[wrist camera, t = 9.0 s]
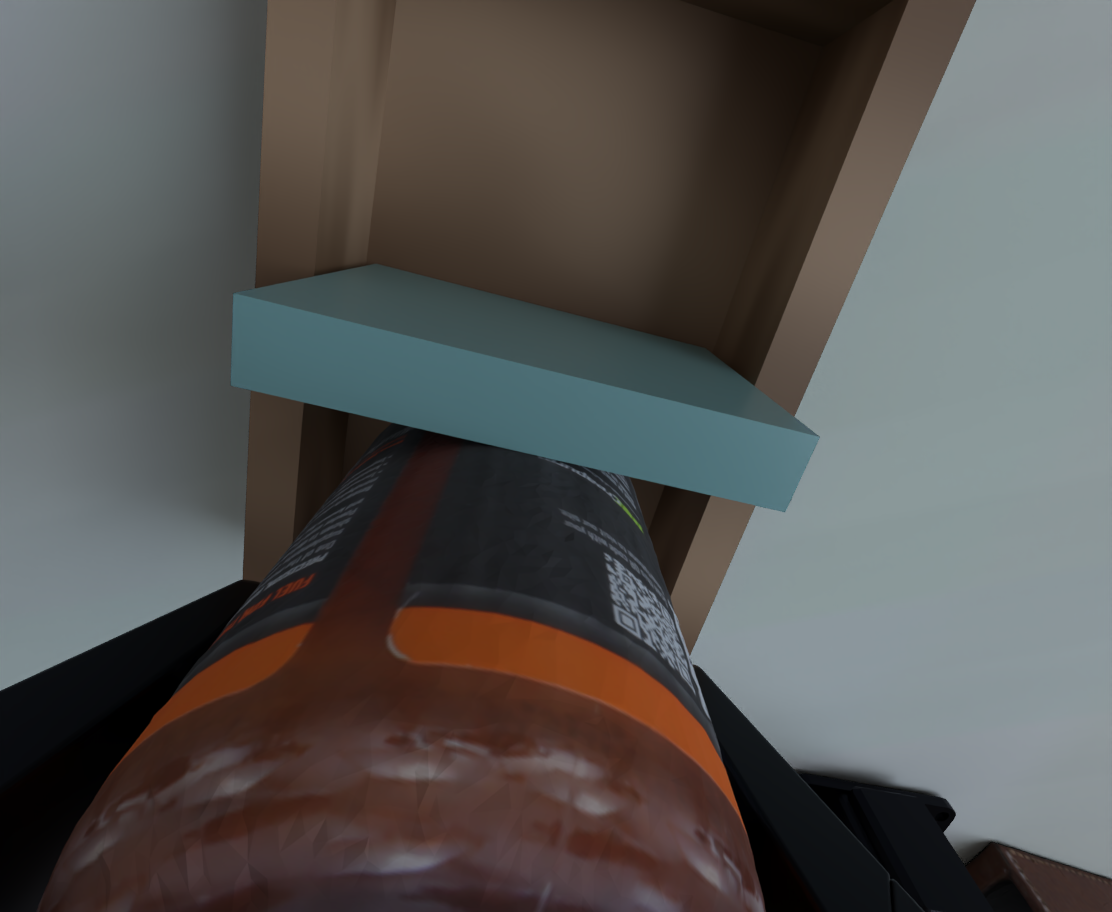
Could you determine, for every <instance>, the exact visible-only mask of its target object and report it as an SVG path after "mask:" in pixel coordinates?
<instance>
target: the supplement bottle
mask: <svg viewBox="0 0 1112 912" xmlns="http://www.w3.org/2000/svg"><path fill="white" fill-rule="evenodd" d="M36 912H766V911H765V904H764V898H763V894H762V890H761V886H760V883H759V879H758V875H757V872H756V869H755V863H754V858H753V854H752V850H751V846H750V843H749V839H748V835H747V832H746V829H745V826H744V823H743V820H742V817H741V814H740V812H739V809H738V806H737V803H736V800H735V797H734V794H733V791H732V788H731V784H730V781H729V778H728V775H727V772H726V769H725V767H724V764H723V761H722V757H721V752H720V747H719V744H718V740H717V737H716V734H715V731H714V728H713V725H712V722H711V719H710V716H709V714H708V711H707V708H706V705H705V702H704V699H703V696H702V693H701V689H700V686H699V683H698V681H697V678H696V675H695V672H694V668H693V665H692V662H691V659H690V656H689V652H688V650H687V647H686V644H685V641H684V638H683V636H682V633H681V629H680V625H679V622H678V618H677V616H676V614H675V613H674V608H673V605H672V602H671V598H670V595H669V592H668V590H667V587H666V584H665V581H664V578H663V576H662V574H661V571H660V568H659V564H658V560H657V556H656V553H655V551H654V548H653V544H652V541H651V539H650V536H649V533H648V530H647V527H646V525H645V522H644V518H643V515H642V512H641V509H640V506H639V503H638V500H637V497H636V493H635V490H634V487H633V485H632V482H631V480H630V478H629V477H628V476H624V475H620V474H615V473H611V472H607V471H602V470H598V469H593V468H589V467H585V466H580V465H576V464H572V463H567V462H563V461H558V460H554V459H550V458H545V457H541V456H537V455H532V454H528V453H523V452H519V451H515V450H510V449H506V448H502V447H497V446H493V445H488V444H484V443H480V442H475V441H471V440H466V439H462V438H458V437H453V436H449V435H445V434H440V433H436V432H431V431H427V430H423V429H418V428H414V427H410V426H405V425H401V424H396V423H392V422H391V424H390V425H389V426H388V427H387V428H386V429H385V430H384V431H383V432H381V433H380V434H379V435H378V436H377V438H376V439H375V440H374V441H373V443H372V444H371V445H370V447H369V448H368V449H367V450H366V452H365V453H364V454H363V455H362V456H361V457H360V459H359V460H358V461H357V463H356V464H355V466H354V467H352V468H351V469H350V471H349V472H348V474H347V475H346V476H345V477H344V479H343V480H342V482H341V483H340V484H339V485H338V487H337V488H336V489H335V490H334V491H333V493H332V494H331V495H330V496H329V497H328V498H327V500H326V501H325V503H324V504H323V505H322V507H321V508H320V509H319V510H318V512H317V513H316V514H315V515H314V517H313V518H312V519H311V520H310V521H309V523H308V524H307V525H306V527H305V528H304V529H303V530H302V532H301V533H300V534H299V535H298V537H297V538H296V539H295V540H294V542H293V543H292V544H291V545H290V547H289V548H288V550H287V551H286V552H285V553H284V554H283V555H282V557H281V558H280V559H279V560H278V562H277V563H276V564H275V566H274V567H273V568H272V569H271V571H270V572H269V573H268V574H267V576H266V577H265V578H264V579H263V581H262V582H261V583H260V584H259V586H258V587H257V588H256V590H255V591H254V592H253V593H252V594H251V596H250V597H249V598H248V599H247V601H246V602H245V603H244V604H243V605H242V607H241V608H240V609H239V610H238V612H237V613H236V614H235V615H234V617H233V618H232V619H231V620H230V621H229V623H228V624H227V625H226V627H225V628H224V629H223V631H222V632H221V633H220V635H219V636H218V637H217V639H216V640H215V642H214V643H213V644H212V646H211V647H210V648H209V649H208V650H207V651H206V652H205V653H204V654H203V655H202V656H201V657H200V658H199V659H198V660H197V662H196V663H195V664H194V666H193V667H192V668H191V670H190V671H189V672H188V673H187V675H186V676H185V677H184V679H183V680H182V682H181V683H180V685H179V686H178V688H177V689H176V691H175V692H174V694H173V695H172V697H171V698H170V700H169V701H168V702H167V703H166V704H165V705H164V706H163V707H162V708H161V709H160V710H159V711H158V712H157V713H156V714H155V715H154V716H153V718H152V720H151V722H150V724H149V725H148V726H147V727H146V729H145V730H144V731H143V732H142V734H141V735H140V736H139V738H138V739H137V740H136V741H135V743H134V744H133V745H132V747H131V748H130V749H129V750H128V752H127V753H126V754H125V755H124V757H123V758H122V759H121V761H120V762H119V763H118V764H117V766H116V767H115V768H114V769H113V771H112V772H111V773H110V775H109V776H108V778H107V779H106V781H105V782H104V784H103V785H102V787H101V788H100V790H99V792H98V793H97V795H96V796H95V798H94V800H93V801H92V803H91V804H90V806H89V807H88V808H87V810H86V811H85V813H84V814H83V815H82V817H81V818H80V820H79V821H78V823H77V824H76V826H75V828H74V830H73V831H72V833H71V835H70V837H69V839H68V841H67V843H66V844H65V846H64V848H63V850H62V852H61V855H60V857H59V859H58V861H57V863H56V865H55V867H54V870H53V872H52V875H51V877H50V880H49V882H48V884H47V886H46V888H45V891H44V893H43V896H42V898H41V901H40V903H39V906H38V909H37V911H36Z"/></svg>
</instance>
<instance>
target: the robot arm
mask: <svg viewBox="0 0 1112 912" xmlns="http://www.w3.org/2000/svg"><path fill="white" fill-rule="evenodd" d="M260 583H261V582H258V581H252V580H245V579H243V580H239V581H237V582H235V583H232V584H230V585H228V586H226V587H224V588H222V589H219V590H217V591H215V592H213V593H211V594H209V595H206V596H204V597H202V598H200V599H198V600H196V601H193V602H191V603H189V604H187V605H185V606H183V607H180V608H178V609H176V610H174V611H172V612H170V613H168V614H165V615H163V616H161V617H159V618H157V619H155V620H152V621H150V622H148V623H146V624H144V625H142V626H139V627H137V628H135V629H133V630H131V631H129V632H126V633H124V634H122V635H120V636H118V637H116V638H113V639H111V640H109V641H107V642H105V643H103V644H101V645H98V646H96V647H94V648H92V649H90V650H88V651H85V652H83V653H81V654H79V655H77V656H75V657H72V658H70V659H68V660H66V661H64V662H62V663H59V664H57V665H55V666H53V667H51V668H49V669H46V670H44V671H42V672H40V673H38V674H36V675H34V676H31V677H29V678H27V679H25V680H23V681H21V682H18V683H16V684H14V685H12V686H10V687H8V688H5V689H3V690H1V691H0V912H36V911H37V909H38V906H39V903H40V901H41V898H42V896H43V893H44V891H45V888H46V886H47V884H48V882H49V880H50V877H51V875H52V872H53V870H54V867H55V865H56V863H57V861H58V859H59V857H60V855H61V852H62V850H63V848H64V846H65V844H66V843H67V841H68V839H69V837H70V835H71V833H72V831H73V830H74V828H75V826H76V824H77V823H78V821H79V820H80V818H81V817H82V815H83V814H84V813H85V811H86V810H87V808H88V807H89V806H90V804H91V803H92V801H93V800H94V798H95V796H96V795H97V793H98V792H99V790H100V788H101V787H102V785H103V784H104V782H105V781H106V779H107V778H108V776H109V775H110V773H111V772H112V771H113V769H114V768H115V767H116V766H117V764H118V763H119V762H120V761H121V759H122V758H123V757H124V755H125V754H126V753H127V752H128V750H129V749H130V748H131V747H132V745H133V744H134V743H135V741H136V740H137V739H138V738H139V736H140V735H141V734H142V732H143V731H144V730H145V729H146V727H147V726H148V725H149V724H150V722H151V720H152V718H153V716H154V715H155V714H156V713H157V712H158V711H159V710H160V709H161V708H162V707H163V706H164V705H165V704H166V703H167V702H168V701H169V700H170V698H171V697H172V695H173V694H174V692H175V691H176V689H177V688H178V686H179V685H180V683H181V682H182V680H183V679H184V677H185V676H186V675H187V673H188V672H189V671H190V670H191V668H192V667H193V666H194V664H195V663H196V662H197V660H198V659H199V658H200V657H201V656H202V655H203V654H204V653H205V652H206V651H207V650H208V649H209V648H210V647H211V646H212V644H213V643H214V642H215V640H216V639H217V637H218V636H219V635H220V633H221V632H222V631H223V629H224V628H225V627H226V625H227V624H228V623H229V621H230V620H231V619H232V618H233V617H234V615H235V614H236V613H237V612H238V610H239V609H240V608H241V607H242V605H243V604H244V603H245V602H246V601H247V599H248V598H249V597H250V596H251V594H252V593H253V592H254V591H255V590H256V588H257V587H258V586H259V584H260ZM692 665H693V664H692ZM693 668H694V672H695V675H696V678H697V681H698V683H699V686H700V689H701V693H702V696H703V699H704V702H705V705H706V708H707V711H708V714H709V716H710V719H711V722H712V725H713V728H714V731H715V734H716V737H717V740H718V744H719V747H720V752H721V757H722V761H723V764H724V767H725V769H726V772H727V775H728V778H729V781H730V784H731V788H732V791H733V794H734V797H735V800H736V803H737V806H738V809H739V812H740V814H741V817H742V820H743V823H744V826H745V829H746V832H747V835H748V839H749V843H750V846H751V850H752V854H753V858H754V863H755V869H756V872H757V875H758V879H759V883H760V886H761V890H762V894H763V898H764V904H765V911H766V912H994V910H993V909H992V907H991V906H990V904H989V903H988V901H987V900H986V898H985V896H984V895H983V893H982V892H981V890H980V889H979V887H978V886H977V884H976V883H975V881H974V879H973V878H972V876H971V875H970V873H969V872H968V870H967V869H966V867H965V866H964V864H963V863H962V861H961V859H960V858H959V856H958V855H957V853H956V852H955V850H954V849H953V847H952V846H951V844H950V843H949V841H948V839H947V838H946V836H945V835H944V833H943V832H944V831H945V830H946V829H947V827H948V826H949V825H950V823H951V822H952V821H953V820H954V818H955V816H956V814H955V811H954V809H953V808H952V807H951V805H950V804H949V802H948V801H947V800H946V799H944V798H941V797H935V796H929V795H924V794H918V793H912V792H907V791H901V790H896V789H890V788H884V787H879V786H873V785H867V784H862V783H856V782H850V781H845V780H839V779H833V778H828V777H822V776H816V775H811V774H797V772H796V771H795V770H794V769H793V768H792V767H791V766H790V765H789V764H788V763H787V762H786V761H785V759H784V758H783V757H782V756H781V755H780V754H779V753H778V752H777V751H776V750H775V749H774V747H773V746H772V745H771V744H770V743H769V742H768V741H767V740H766V739H765V738H764V737H763V735H762V734H761V733H760V732H759V731H758V730H757V729H756V728H755V727H754V726H753V725H752V723H751V722H750V721H749V720H748V719H747V718H746V717H745V716H744V715H743V714H742V713H741V711H740V710H739V709H738V708H737V707H736V706H735V705H734V704H733V703H732V702H731V701H730V699H729V698H728V697H727V696H726V695H725V694H724V693H723V692H722V691H721V690H720V689H719V687H718V686H717V685H716V684H715V683H714V682H713V681H712V680H711V679H710V678H709V677H708V675H707V674H706V673H705V672H704V671H703V670H702V669H701V668H700V667H698V666H696V665H693Z"/></svg>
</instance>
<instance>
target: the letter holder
mask: <svg viewBox="0 0 1112 912" xmlns="http://www.w3.org/2000/svg"><path fill="white" fill-rule="evenodd" d="M965 867H966V869H967V870H968V872H969V873H970V875H971V876H972V878H973V879H974V881H975V883H976V884H977V886H978V887H979V889H980V890H981V892H982V893H983V895H984V896H985V898H986V900H987V901H988V903H989V904H990V906H991V907H992V909H993V910H994V912H1112V880H1111V879H1107V878H1105V877H1099V876H1097V875H1093V874H1091V873H1088V872H1085V871H1082V870H1078V869H1076V868H1073V867H1070V866H1067V865H1063V864H1060V863H1057V862H1054V861H1051V860H1046V859H1044V858H1041V857H1038V856H1035V855H1032V854H1029V853H1026V852H1023V851H1020V850H1017V849H1014V848H1010V847H1007V846H1003V845H1000V844H997V843H994V842H992V843H990V844H989V845H988V846H987V847H986V848H985V849H984V850H983V851H982V852H981V853H980V854H979V855H978V856H976V857H975V858H974V859H973V860H972V861H971V862H970V863H968V864H967V865H966V866H965Z"/></svg>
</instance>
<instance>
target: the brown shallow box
mask: <svg viewBox="0 0 1112 912" xmlns="http://www.w3.org/2000/svg"><path fill="white" fill-rule="evenodd" d="M975 2H976V0H268V5H267V28H266V52H265V75H264V98H263V121H262V144H261V167H260V190H259V213H258V236H257V259H256V283H255V288H260V287H265V286H270V285H275V284H280V283H284V282H289V281H294V280H299V279H304V278H309V277H314V276H318V275H323V274H328V273H333V272H338V271H343V270H347V269H352V268H357V267H362V266H367V265H372V264H380V265H384V266H387V267H391V268H395V269H399V270H403V271H407V272H411V273H415V274H419V275H422V276H426V277H430V278H434V279H438V280H442V281H446V282H450V283H454V284H457V285H461V286H465V287H469V288H473V289H477V290H481V291H485V292H489V293H492V294H496V295H500V296H504V297H508V298H512V299H516V300H520V301H524V302H527V303H531V304H535V305H539V306H543V307H547V308H551V309H555V310H559V311H562V312H566V313H570V314H574V315H578V316H582V317H586V318H590V319H594V320H597V321H601V322H605V323H609V324H613V325H617V326H621V327H625V328H629V329H632V330H636V331H640V332H644V333H648V334H652V335H656V336H660V337H664V338H667V339H671V340H675V341H679V342H683V343H687V344H691V345H695V346H699V347H702V348H706V349H707V350H709V351H710V352H711V353H712V354H714V355H715V356H716V357H718V358H719V359H720V360H721V361H723V362H724V363H725V364H727V365H728V366H729V367H730V368H732V369H733V370H734V371H736V372H737V373H738V374H739V375H741V376H742V377H743V378H745V379H746V380H747V381H748V382H750V383H751V384H752V385H754V386H755V387H756V388H757V389H759V390H760V391H761V392H763V393H764V394H765V395H767V396H768V397H769V398H770V399H772V400H773V401H774V402H776V403H777V404H778V405H779V406H781V407H782V408H783V409H785V410H786V411H787V412H788V413H790V414H791V415H792V416H795V414H796V412H797V409H798V407H799V405H800V402H801V400H802V398H803V396H804V393H805V391H806V389H807V386H808V384H809V382H810V380H811V377H812V375H813V373H814V370H815V368H816V366H817V364H818V361H819V359H820V357H821V354H822V352H823V350H824V348H825V345H826V343H827V341H828V338H829V336H830V334H831V332H832V329H833V327H834V325H835V322H836V320H837V318H838V316H839V313H840V311H841V309H842V306H843V304H844V302H845V299H846V297H847V295H848V293H849V290H850V288H851V286H852V283H853V281H854V279H855V277H856V274H857V272H858V270H859V267H860V265H861V263H862V261H863V258H864V256H865V254H866V251H867V249H868V247H869V245H870V242H871V240H872V238H873V235H874V233H875V231H876V229H877V226H878V224H879V222H880V219H881V217H882V215H883V213H884V210H885V208H886V206H887V203H888V201H889V199H890V197H891V194H892V192H893V190H894V187H895V185H896V183H897V181H898V178H899V176H900V174H901V171H902V169H903V167H904V164H905V162H906V160H907V158H908V155H909V153H910V151H911V148H912V146H913V144H914V142H915V139H916V137H917V135H918V132H919V130H920V128H921V126H922V123H923V121H924V119H925V116H926V114H927V112H928V110H929V107H930V105H931V103H932V100H933V98H934V96H935V94H936V91H937V89H938V87H939V84H940V82H941V80H942V78H943V75H944V73H945V71H946V68H947V66H948V64H949V62H950V59H951V57H952V55H953V52H954V50H955V48H956V46H957V43H958V41H959V39H960V36H961V34H962V32H963V29H964V27H965V25H966V23H967V20H968V18H969V16H970V13H971V11H972V9H973V7H974V4H975ZM390 424H391V422H388V421H383V420H379V419H375V418H370V417H366V416H361V415H357V414H353V413H348V412H344V411H340V410H335V409H331V408H326V407H322V406H318V405H313V404H309V403H304V402H300V401H296V400H291V399H287V398H283V397H278V396H274V395H269V394H265V393H261V392H256V391H252V390H251V398H250V421H249V444H248V467H247V491H246V514H245V537H244V560H243V579H245V580H252V581H258V582H262V581H263V579H264V578H265V577H266V576H267V574H268V573H269V572H270V571H271V569H272V568H273V567H274V566H275V564H276V563H277V562H278V560H279V559H280V558H281V557H282V555H283V554H284V553H285V552H286V551H287V550H288V548H289V547H290V545H291V544H292V543H293V542H294V540H295V539H296V538H297V537H298V535H299V534H300V533H301V532H302V530H303V529H304V528H305V527H306V525H307V524H308V523H309V521H310V520H311V519H312V518H313V517H314V515H315V514H316V513H317V512H318V510H319V509H320V508H321V507H322V505H323V504H324V503H325V501H326V500H327V498H328V497H329V496H330V495H331V494H332V493H333V491H334V490H335V489H336V488H337V487H338V485H339V484H340V483H341V482H342V480H343V479H344V477H345V476H346V475H347V474H348V472H349V471H350V469H351V468H352V467H354V466H355V464H356V463H357V461H358V460H359V459H360V457H361V456H362V455H363V454H364V453H365V452H366V450H367V449H368V448H369V447H370V445H371V444H372V443H373V441H374V440H375V439H376V438H377V436H378V435H379V434H380V433H381V432H383V431H384V430H385V429H386V428H387V427H388V426H389V425H390ZM629 478H630V480H631V482H632V485H633V487H634V490H635V493H636V497H637V500H638V503H639V506H640V509H641V512H642V515H643V518H644V522H645V525H646V527H647V530H648V533H649V536H650V539H651V541H652V544H653V548H654V551H655V553H656V556H657V560H658V564H659V568H660V571H661V574H662V576H663V578H664V581H665V584H666V587H667V590H668V592H669V595H670V598H671V602H672V605H673V608H674V613H675V614H676V616H677V618H678V622H679V625H680V629H681V633H682V636H683V638H684V641H685V644H686V647H687V650H688V652H689V656H690V654H691V652H692V650H693V647H694V645H695V643H696V640H697V638H698V636H699V634H700V631H701V629H702V627H703V624H704V622H705V620H706V618H707V615H708V613H709V611H710V608H711V606H712V604H713V602H714V599H715V597H716V595H717V592H718V590H719V588H720V586H721V583H722V581H723V579H724V576H725V574H726V572H727V569H728V567H729V565H730V563H731V560H732V558H733V556H734V553H735V551H736V549H737V547H738V544H739V542H740V540H741V537H742V535H743V533H744V531H745V528H746V526H747V524H748V521H749V519H750V517H751V515H752V512H753V510H754V508H755V505H751V504H747V503H742V502H738V501H734V500H729V499H725V498H720V497H716V496H712V495H707V494H703V493H699V492H694V491H690V490H685V489H681V488H677V487H672V486H668V485H664V484H659V483H655V482H650V481H646V480H642V479H637V478H633V477H629Z"/></svg>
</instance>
